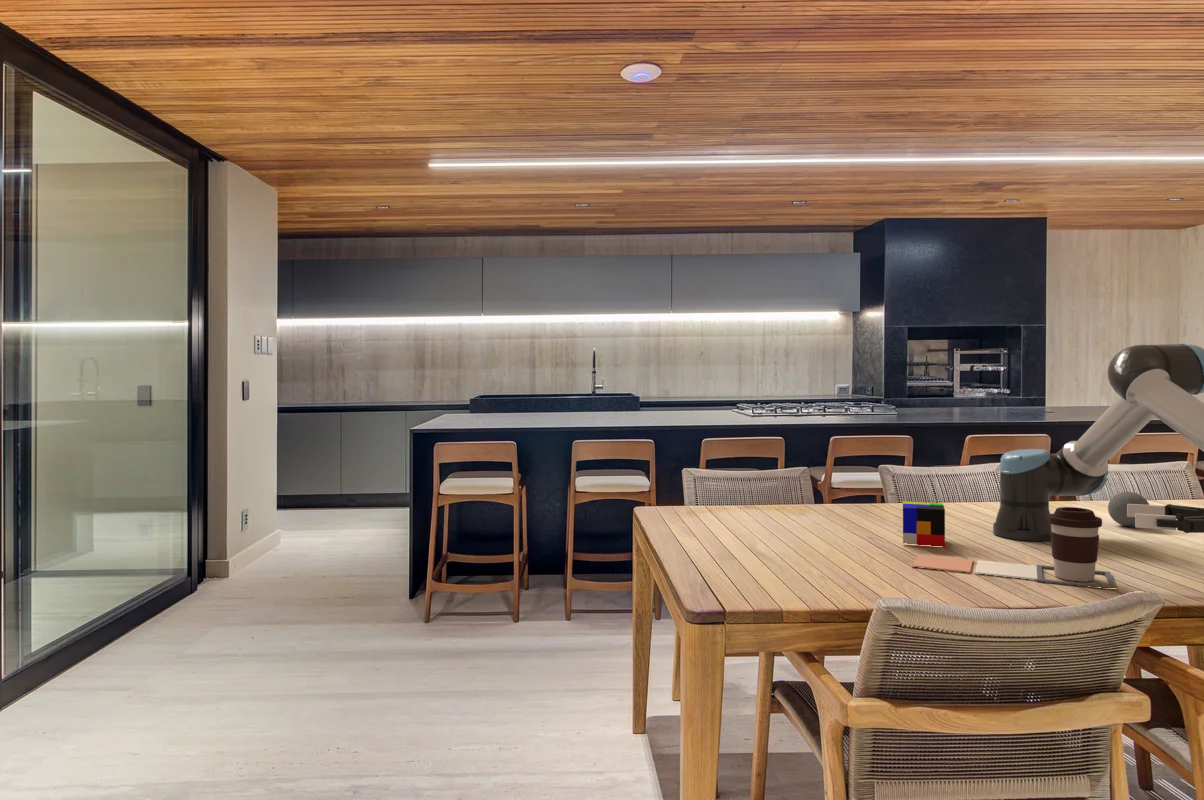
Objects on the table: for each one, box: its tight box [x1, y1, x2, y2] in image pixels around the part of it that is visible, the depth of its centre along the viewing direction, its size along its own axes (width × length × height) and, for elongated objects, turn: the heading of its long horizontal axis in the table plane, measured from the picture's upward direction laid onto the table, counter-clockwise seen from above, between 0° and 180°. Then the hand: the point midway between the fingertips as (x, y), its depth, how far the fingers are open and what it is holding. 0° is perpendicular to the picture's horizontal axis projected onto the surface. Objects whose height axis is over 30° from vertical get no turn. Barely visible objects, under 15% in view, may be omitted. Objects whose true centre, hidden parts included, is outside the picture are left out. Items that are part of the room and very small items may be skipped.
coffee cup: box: [1048, 506, 1103, 583], centre depth 160 cm, size 10×10×15 cm
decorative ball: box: [1107, 491, 1150, 528], centre depth 212 cm, size 10×10×10 cm
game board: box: [912, 554, 1118, 589], centre depth 167 cm, size 39×14×1 cm, turn 60°
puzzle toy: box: [902, 501, 946, 548], centre depth 196 cm, size 10×10×10 cm
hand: (1130, 515), depth 155 cm, fingers open, 13 cm apart
